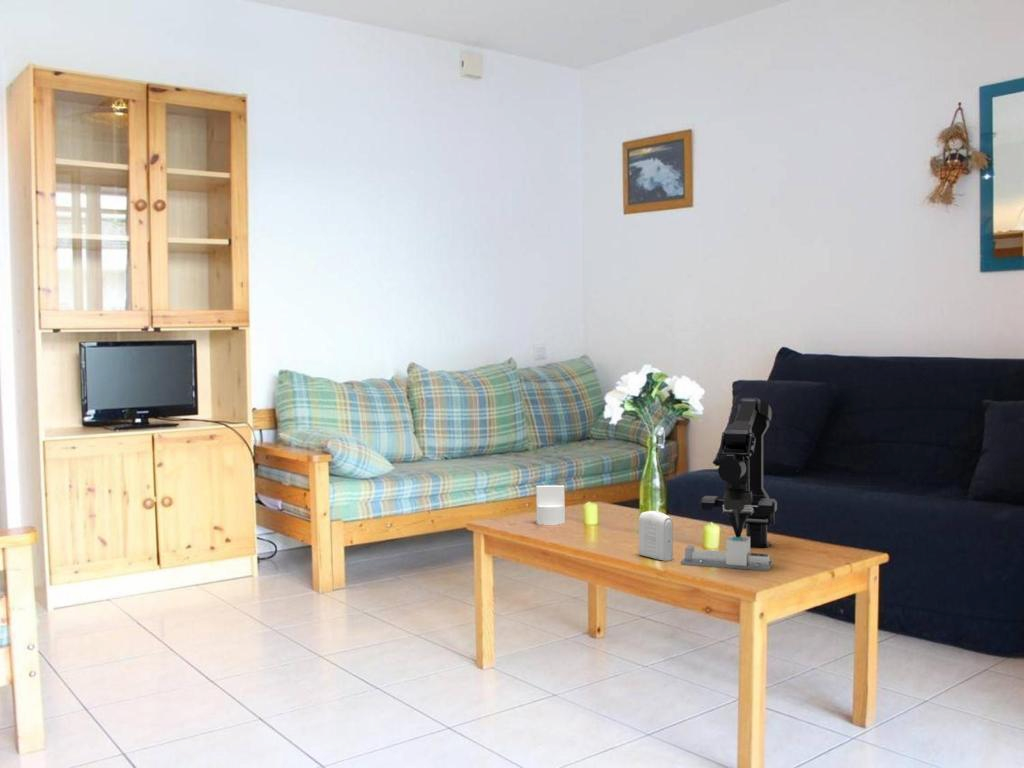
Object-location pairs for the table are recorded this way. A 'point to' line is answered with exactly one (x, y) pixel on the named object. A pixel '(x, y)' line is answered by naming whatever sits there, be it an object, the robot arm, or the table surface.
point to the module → (737, 550)
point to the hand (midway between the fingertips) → (738, 537)
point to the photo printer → (656, 535)
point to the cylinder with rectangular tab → (550, 504)
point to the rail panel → (721, 564)
